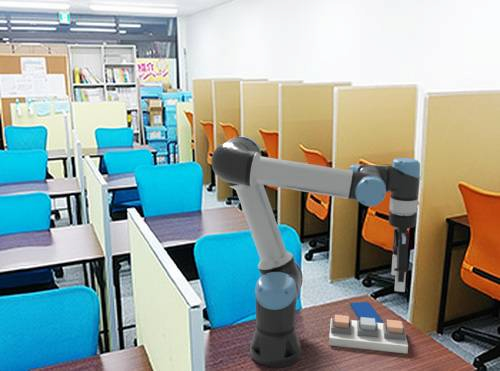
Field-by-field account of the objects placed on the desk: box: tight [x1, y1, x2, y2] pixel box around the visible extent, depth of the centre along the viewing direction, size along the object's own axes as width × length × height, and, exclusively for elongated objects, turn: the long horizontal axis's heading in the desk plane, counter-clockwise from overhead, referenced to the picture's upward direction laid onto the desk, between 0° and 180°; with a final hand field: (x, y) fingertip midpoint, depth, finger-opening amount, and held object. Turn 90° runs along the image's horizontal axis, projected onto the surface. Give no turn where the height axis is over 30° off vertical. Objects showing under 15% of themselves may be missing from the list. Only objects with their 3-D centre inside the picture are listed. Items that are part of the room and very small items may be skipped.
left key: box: [334, 314, 350, 328], centre depth 147 cm, size 4×4×2 cm
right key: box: [386, 319, 403, 334], centre depth 143 cm, size 4×4×2 cm
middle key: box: [360, 317, 376, 331], centre depth 145 cm, size 4×4×2 cm
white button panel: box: [328, 317, 409, 354], centre depth 146 cm, size 23×12×4 cm, turn 78°
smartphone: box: [349, 301, 384, 323], centre depth 161 cm, size 7×1×15 cm
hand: (397, 282), depth 140 cm, fingers open, 10 cm apart
